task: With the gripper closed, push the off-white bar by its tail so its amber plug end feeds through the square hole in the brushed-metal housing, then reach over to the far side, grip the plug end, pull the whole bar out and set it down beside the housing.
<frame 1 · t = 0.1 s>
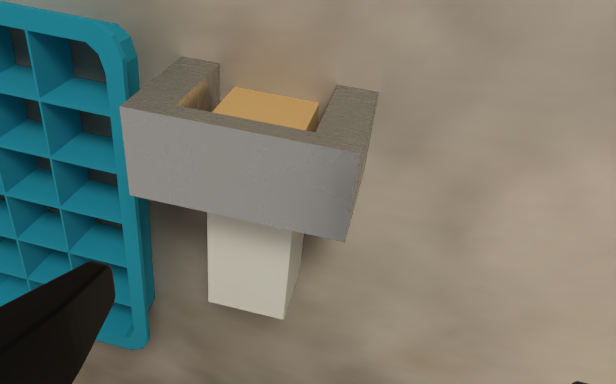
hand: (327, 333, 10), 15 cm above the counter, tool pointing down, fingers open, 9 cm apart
plug bar: (270, 189, 27), on the counter
ice cube tray: (68, 169, 30), on the counter
motor housing: (274, 115, 24), on the counter
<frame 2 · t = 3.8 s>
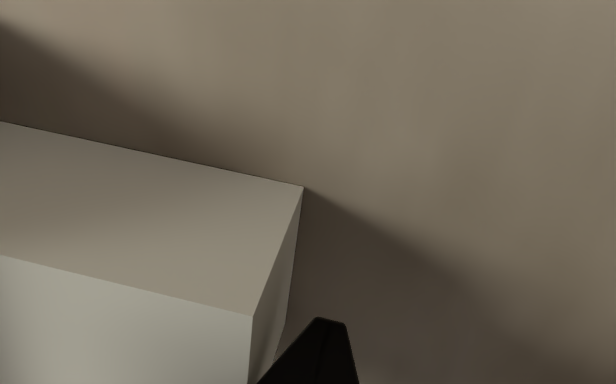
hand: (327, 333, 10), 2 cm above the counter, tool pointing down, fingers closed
plug bar: (71, 210, 12), on the counter, touching gripper
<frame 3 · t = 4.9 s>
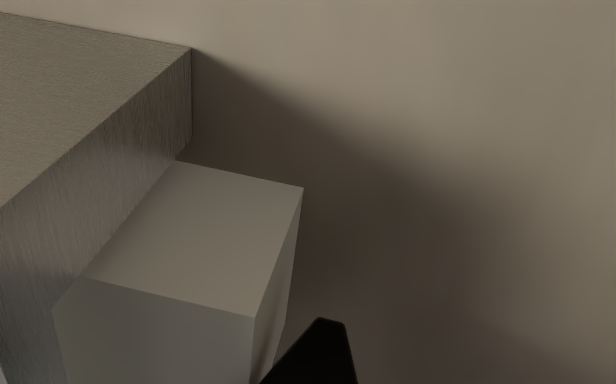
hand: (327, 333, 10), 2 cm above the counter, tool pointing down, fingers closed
plug bar: (70, 211, 12), on the counter, touching gripper
motor housing: (109, 224, 12), on the counter
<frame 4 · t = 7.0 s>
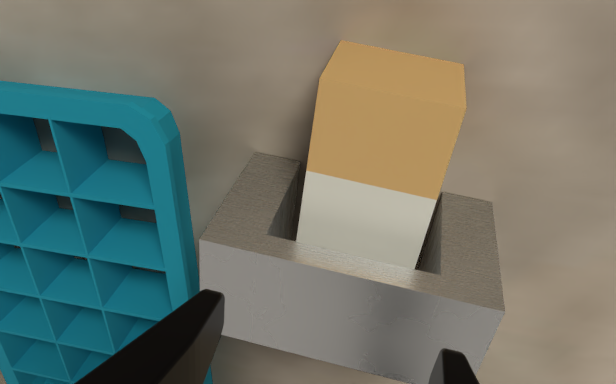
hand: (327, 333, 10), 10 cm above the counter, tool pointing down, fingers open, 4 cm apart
plug bar: (370, 185, 20), on the counter
ice cube tray: (108, 257, 26), on the counter
motor housing: (361, 219, 21), on the counter
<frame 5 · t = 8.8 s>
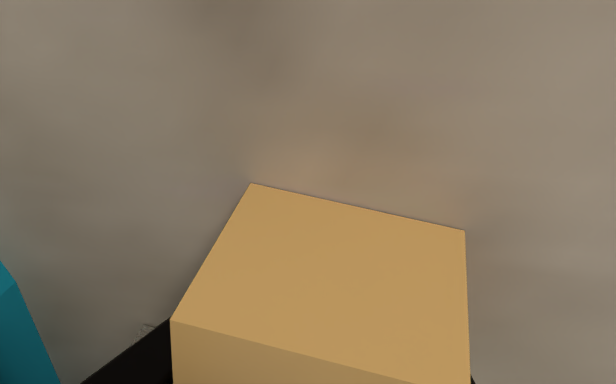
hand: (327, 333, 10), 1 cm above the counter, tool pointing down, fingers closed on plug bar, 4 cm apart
plug bar: (319, 382, 13), on the counter, touching gripper
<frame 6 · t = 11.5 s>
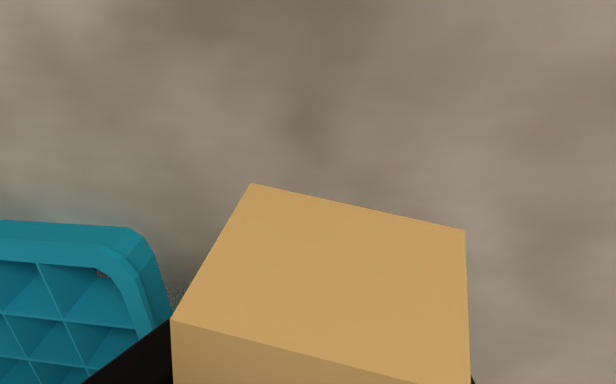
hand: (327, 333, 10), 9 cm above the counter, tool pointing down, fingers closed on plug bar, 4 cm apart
plug bar: (319, 381, 13), point 8 cm above the counter, touching gripper
ice cube tray: (110, 353, 29), on the counter
when the fingers open (2 cm above the counter, at t = 14.1 s): plug bar drops 2 cm, on the counter.
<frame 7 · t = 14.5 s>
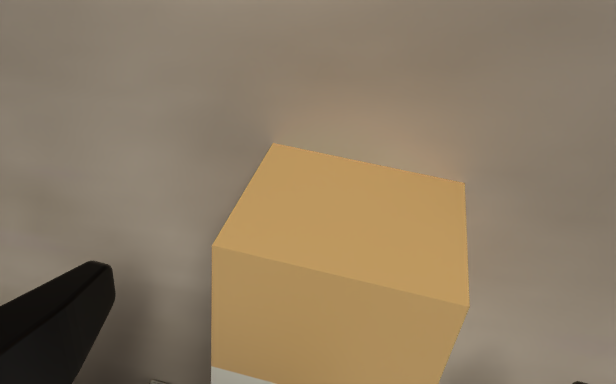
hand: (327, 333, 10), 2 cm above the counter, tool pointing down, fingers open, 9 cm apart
plug bar: (332, 331, 14), on the counter
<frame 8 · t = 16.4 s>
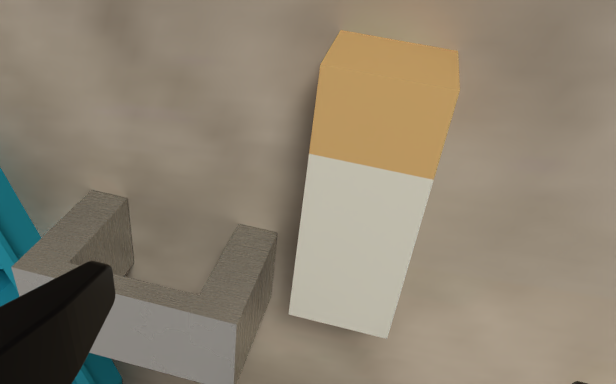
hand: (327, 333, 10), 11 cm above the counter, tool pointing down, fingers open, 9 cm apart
plug bar: (371, 170, 21), on the counter
motor housing: (183, 244, 25), on the counter
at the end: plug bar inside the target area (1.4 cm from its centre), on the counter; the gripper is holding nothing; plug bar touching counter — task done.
